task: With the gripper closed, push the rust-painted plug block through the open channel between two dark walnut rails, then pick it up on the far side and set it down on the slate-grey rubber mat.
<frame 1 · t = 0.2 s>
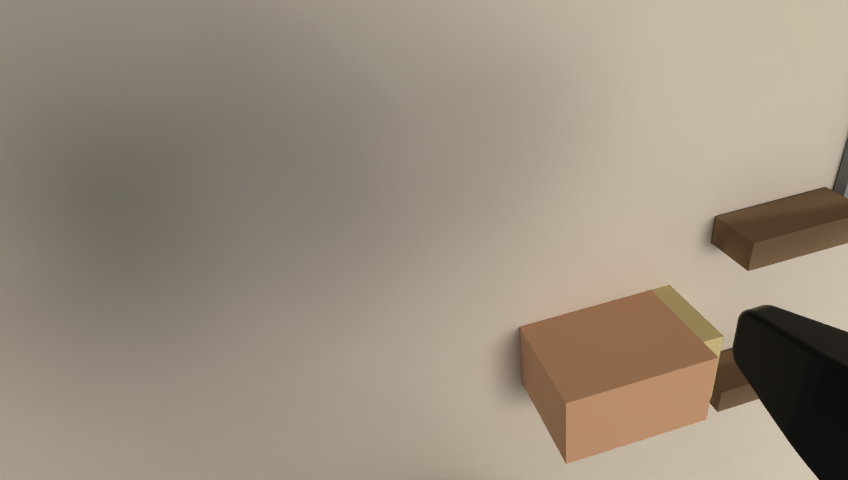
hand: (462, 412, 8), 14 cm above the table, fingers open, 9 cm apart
plug block: (594, 335, 29), on the table
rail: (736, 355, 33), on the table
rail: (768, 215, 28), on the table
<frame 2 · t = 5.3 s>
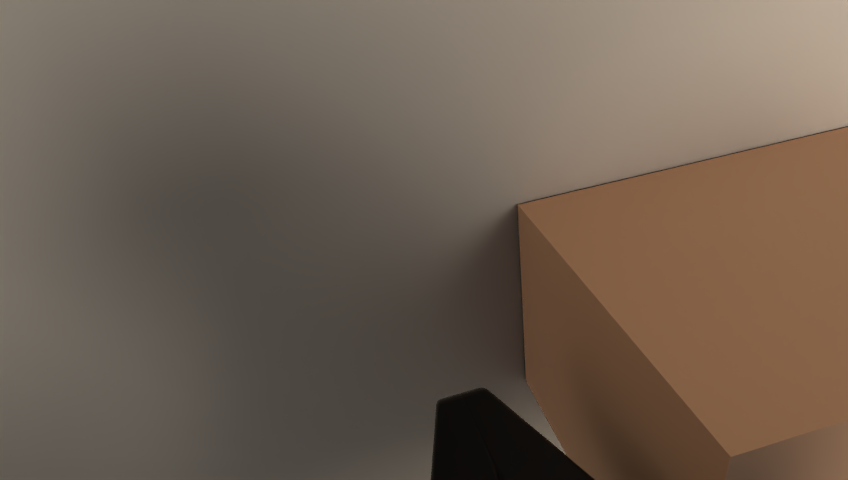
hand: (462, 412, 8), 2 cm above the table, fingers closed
plug block: (721, 250, 11), on the table, touching gripper
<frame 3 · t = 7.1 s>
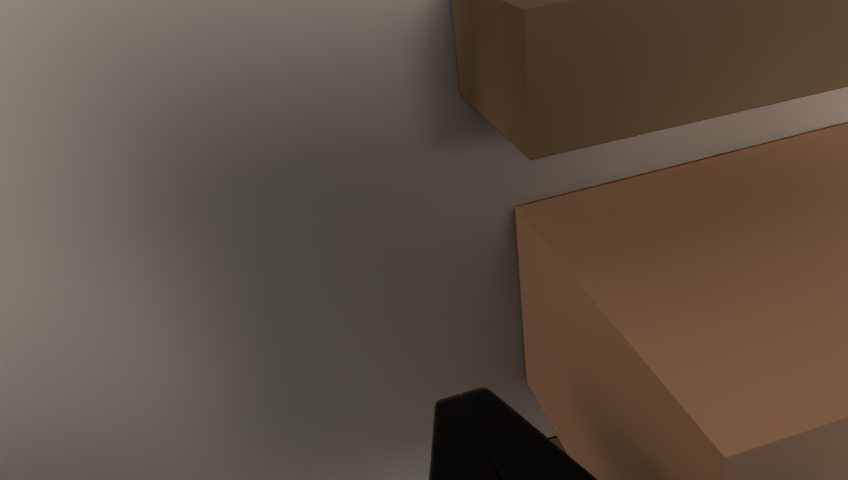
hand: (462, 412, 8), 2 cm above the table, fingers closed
plug block: (719, 248, 11), on the table, touching gripper
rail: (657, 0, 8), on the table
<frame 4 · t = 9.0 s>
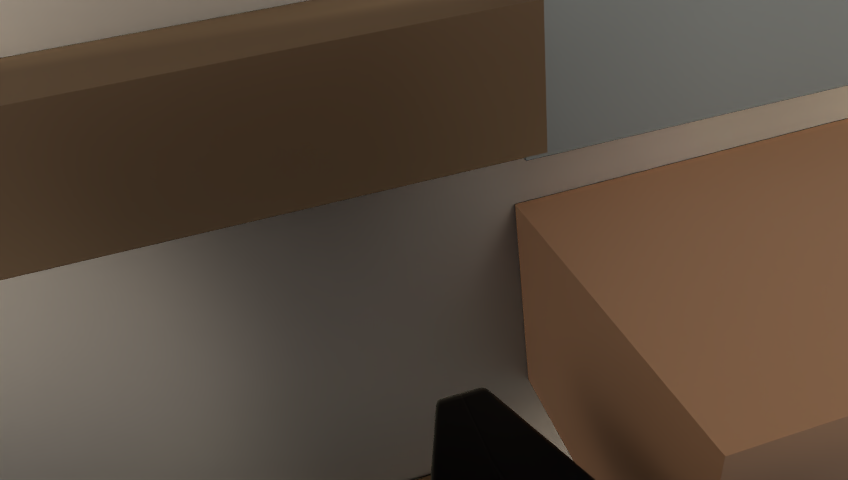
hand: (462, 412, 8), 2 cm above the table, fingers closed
plug block: (722, 244, 11), on the table, touching gripper
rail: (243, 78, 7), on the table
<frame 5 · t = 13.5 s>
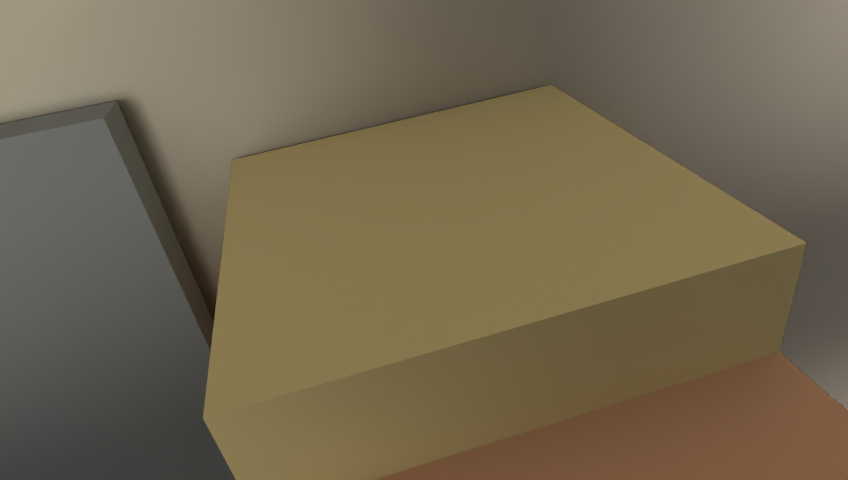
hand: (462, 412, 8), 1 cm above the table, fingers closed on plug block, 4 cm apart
plug block: (441, 359, 9), on the table, touching gripper
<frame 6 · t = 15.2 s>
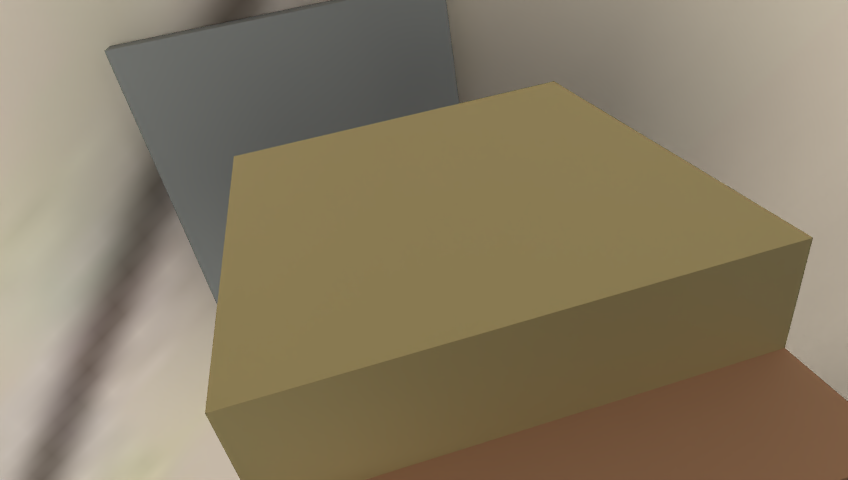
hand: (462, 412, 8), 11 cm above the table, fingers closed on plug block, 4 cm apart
plug block: (443, 357, 9), point 10 cm above the table, touching gripper
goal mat: (320, 161, 18), on the table
when the fingers open (3 cm above the table, at t = 17.0 s): plug block drops 2 cm, resting on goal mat.
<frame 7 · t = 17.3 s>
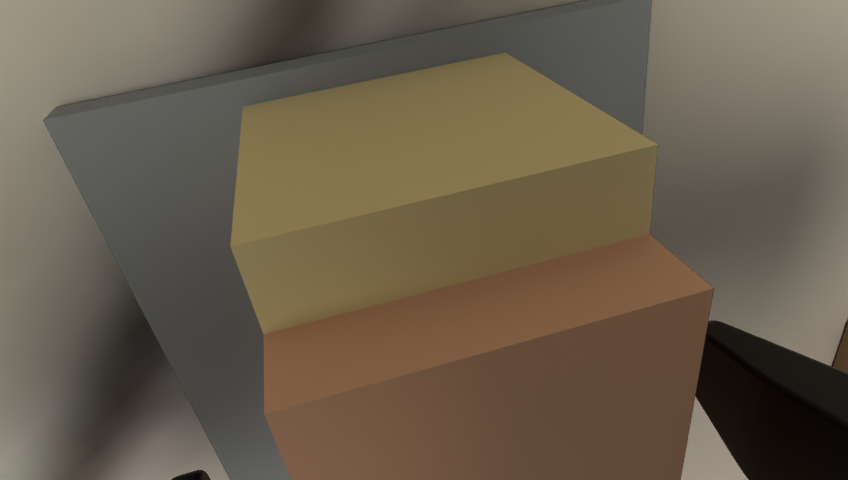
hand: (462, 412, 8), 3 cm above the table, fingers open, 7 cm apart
plug block: (416, 291, 11), point 1 cm above the table, touching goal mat
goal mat: (408, 279, 11), on the table
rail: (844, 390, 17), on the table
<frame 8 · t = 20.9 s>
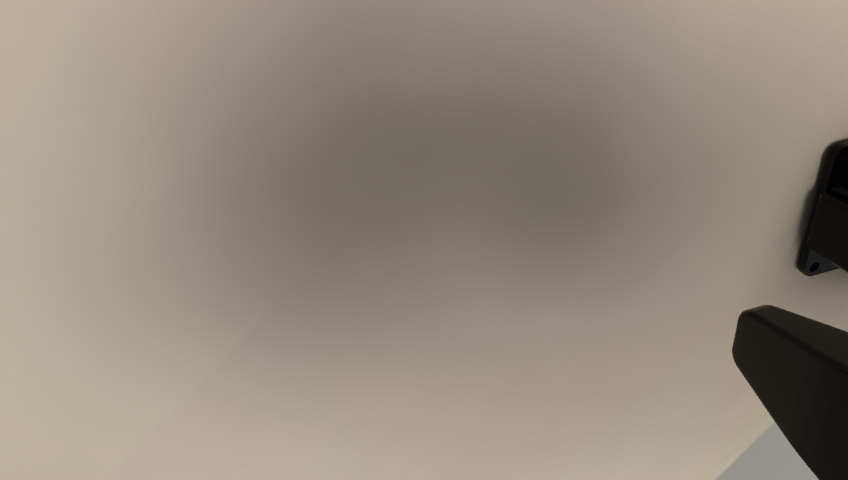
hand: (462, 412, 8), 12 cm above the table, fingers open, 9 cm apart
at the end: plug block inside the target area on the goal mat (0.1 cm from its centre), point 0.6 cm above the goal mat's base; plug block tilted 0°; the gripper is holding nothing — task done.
